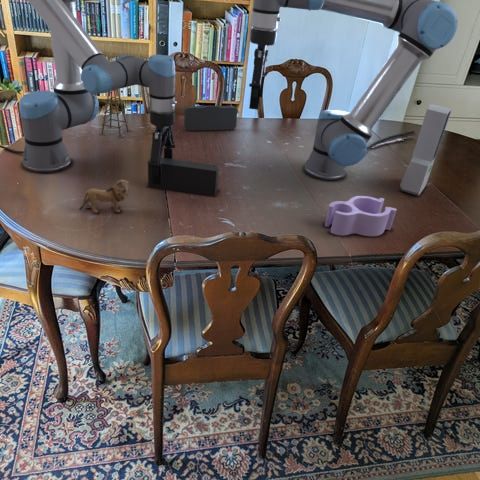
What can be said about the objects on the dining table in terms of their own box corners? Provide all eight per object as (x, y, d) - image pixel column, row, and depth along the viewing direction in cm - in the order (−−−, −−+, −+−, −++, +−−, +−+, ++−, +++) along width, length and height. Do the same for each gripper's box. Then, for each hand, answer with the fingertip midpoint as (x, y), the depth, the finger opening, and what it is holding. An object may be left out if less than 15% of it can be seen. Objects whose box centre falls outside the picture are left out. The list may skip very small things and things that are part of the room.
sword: (410, 136, 218) (410, 134, 218) (415, 138, 216) (416, 136, 216) (366, 148, 203) (366, 145, 202) (371, 151, 201) (372, 148, 200)
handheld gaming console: (234, 127, 207) (236, 105, 202) (236, 129, 205) (238, 107, 200) (183, 128, 200) (184, 105, 195) (185, 131, 198) (185, 107, 192)
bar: (148, 187, 152) (147, 161, 147) (152, 181, 156) (151, 156, 151) (214, 196, 151) (216, 171, 146) (217, 190, 155) (218, 165, 150)
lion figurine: (129, 202, 142) (128, 176, 137) (131, 211, 138) (130, 184, 133) (78, 207, 137) (75, 179, 132) (79, 216, 133) (76, 188, 128)
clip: (337, 240, 135) (342, 219, 131) (318, 218, 145) (322, 198, 141) (395, 233, 141) (402, 213, 137) (373, 213, 151) (378, 194, 147)
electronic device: (418, 197, 164) (446, 113, 148) (397, 190, 167) (423, 108, 151) (426, 185, 173) (454, 105, 157) (406, 179, 176) (431, 100, 160)
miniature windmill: (120, 137, 185) (116, 58, 169) (100, 134, 186) (94, 55, 170) (129, 130, 193) (126, 54, 176) (110, 127, 194) (105, 51, 177)
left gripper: (163, 125, 130) (164, 193, 141) (183, 100, 151) (182, 161, 162) (137, 121, 130) (140, 190, 141) (161, 98, 151) (161, 159, 162)
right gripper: (274, 37, 123) (264, 116, 134) (279, 24, 144) (270, 93, 155) (246, 34, 123) (239, 112, 135) (255, 21, 144) (248, 90, 156)
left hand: (163, 175), depth 152 cm, fingers open, 13 cm apart
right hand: (255, 102), depth 145 cm, fingers open, 13 cm apart
